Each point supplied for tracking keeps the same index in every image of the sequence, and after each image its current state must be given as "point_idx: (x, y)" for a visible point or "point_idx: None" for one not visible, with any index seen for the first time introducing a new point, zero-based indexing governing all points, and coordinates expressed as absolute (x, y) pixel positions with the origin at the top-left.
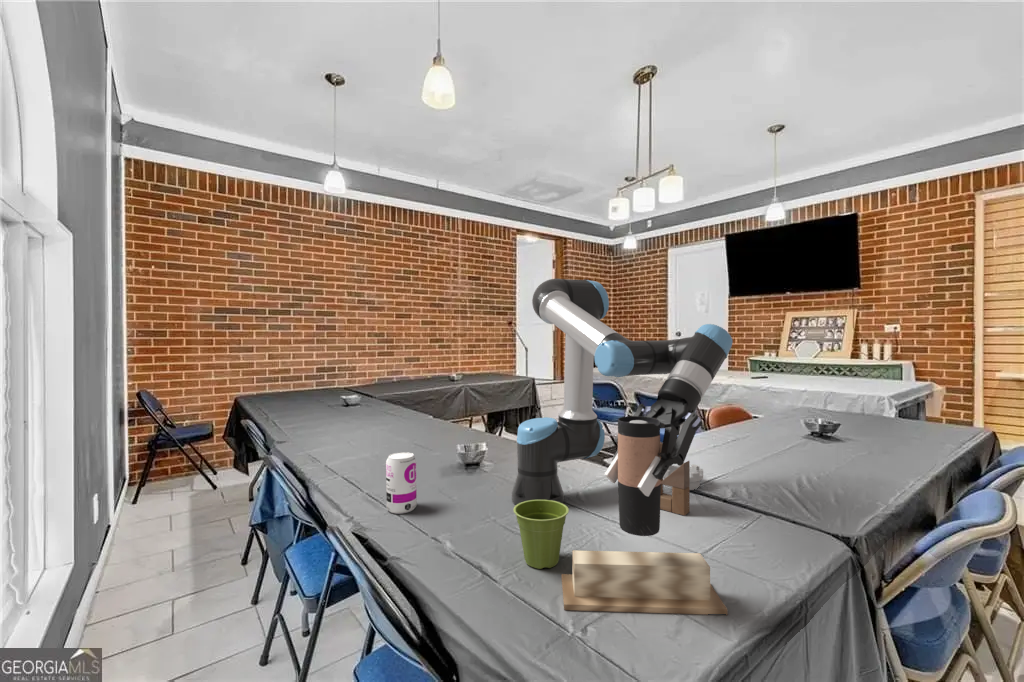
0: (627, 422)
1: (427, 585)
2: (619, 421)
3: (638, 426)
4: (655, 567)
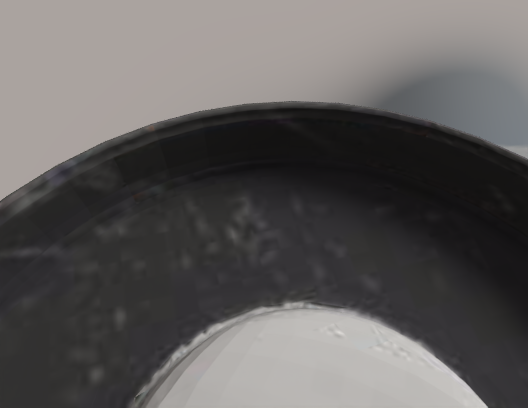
0: (292, 101)
1: (518, 146)
2: (496, 153)
3: (108, 171)
4: None
